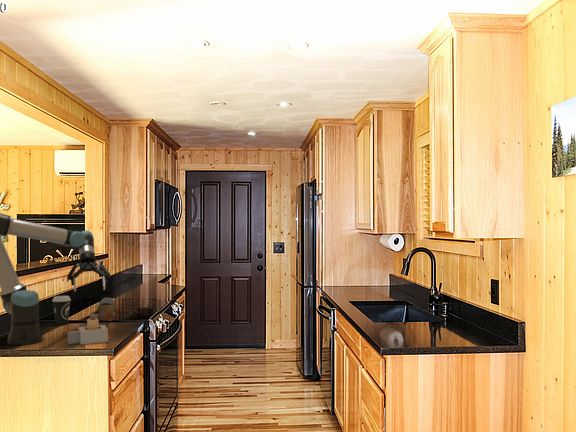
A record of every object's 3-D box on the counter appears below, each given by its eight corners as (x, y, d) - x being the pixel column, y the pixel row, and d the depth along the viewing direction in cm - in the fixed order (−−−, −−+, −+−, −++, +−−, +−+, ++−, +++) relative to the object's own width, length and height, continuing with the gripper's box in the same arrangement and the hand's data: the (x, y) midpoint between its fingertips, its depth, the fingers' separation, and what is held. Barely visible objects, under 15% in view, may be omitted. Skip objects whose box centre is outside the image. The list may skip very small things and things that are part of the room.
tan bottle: (92, 342, 258) (92, 315, 258) (84, 341, 261) (84, 314, 261) (100, 340, 263) (100, 314, 263) (93, 339, 265) (93, 313, 265)
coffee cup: (66, 321, 312) (66, 295, 312) (74, 324, 305) (73, 296, 305) (49, 324, 305) (49, 296, 305) (56, 326, 298) (56, 298, 298)
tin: (96, 319, 318) (96, 304, 318) (101, 318, 320) (101, 303, 320) (115, 321, 310) (114, 306, 310) (119, 320, 312) (119, 305, 312)
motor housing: (107, 342, 259) (107, 329, 259) (68, 345, 252) (68, 332, 252) (104, 337, 270) (104, 324, 270) (67, 340, 263) (67, 328, 263)
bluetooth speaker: (114, 318, 320) (114, 301, 320) (97, 319, 317) (96, 302, 317) (115, 312, 342) (115, 296, 342) (99, 313, 339) (99, 296, 339)
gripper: (112, 260, 294) (115, 292, 281) (61, 262, 284) (62, 295, 271) (113, 250, 289) (116, 282, 276) (61, 252, 279) (62, 285, 266)
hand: (89, 289), depth 273 cm, fingers open, 13 cm apart
